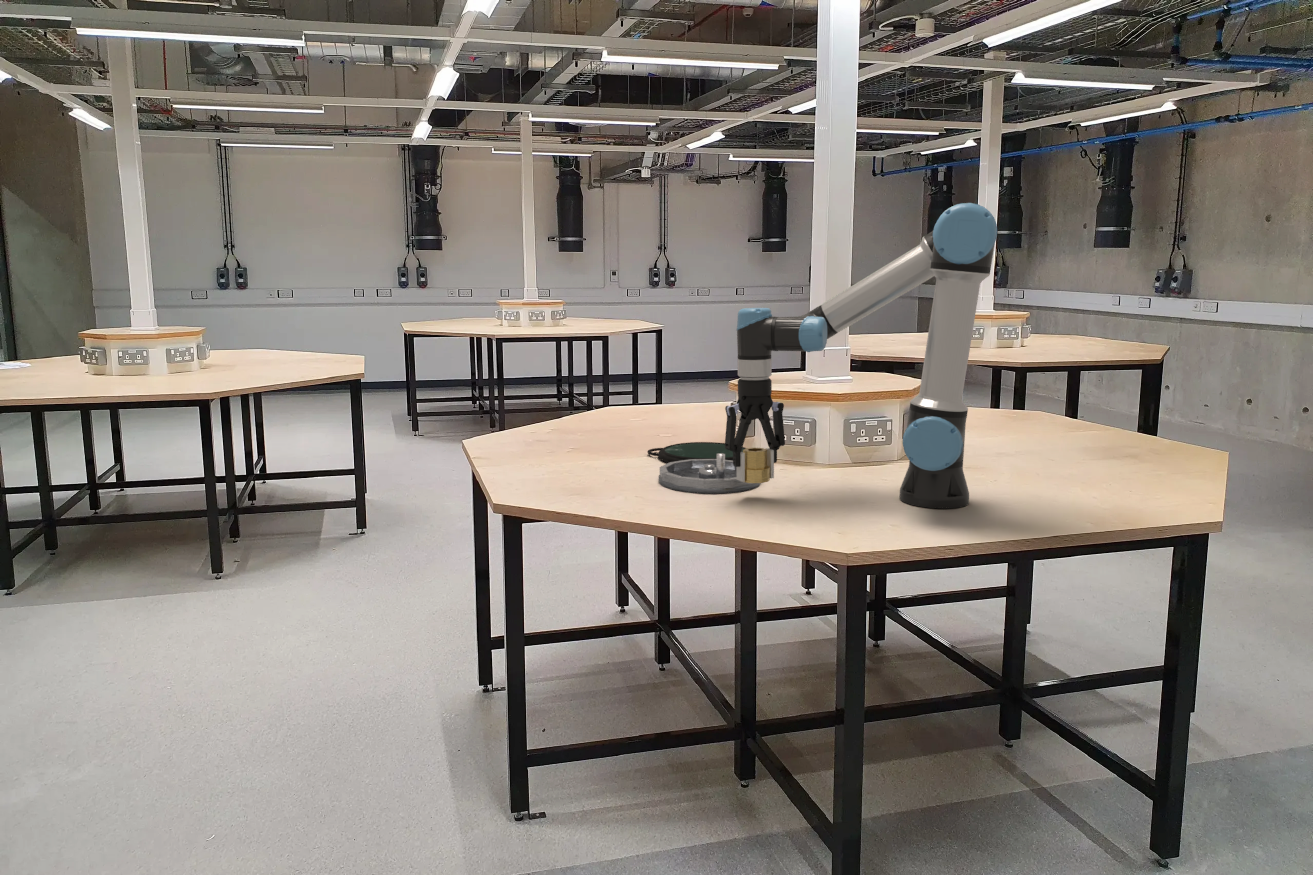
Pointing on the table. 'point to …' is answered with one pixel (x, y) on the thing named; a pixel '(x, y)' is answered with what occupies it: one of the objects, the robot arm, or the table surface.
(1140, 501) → the table surface
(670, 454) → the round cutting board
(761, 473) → the brass hex pipe fitting
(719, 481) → the carrier
